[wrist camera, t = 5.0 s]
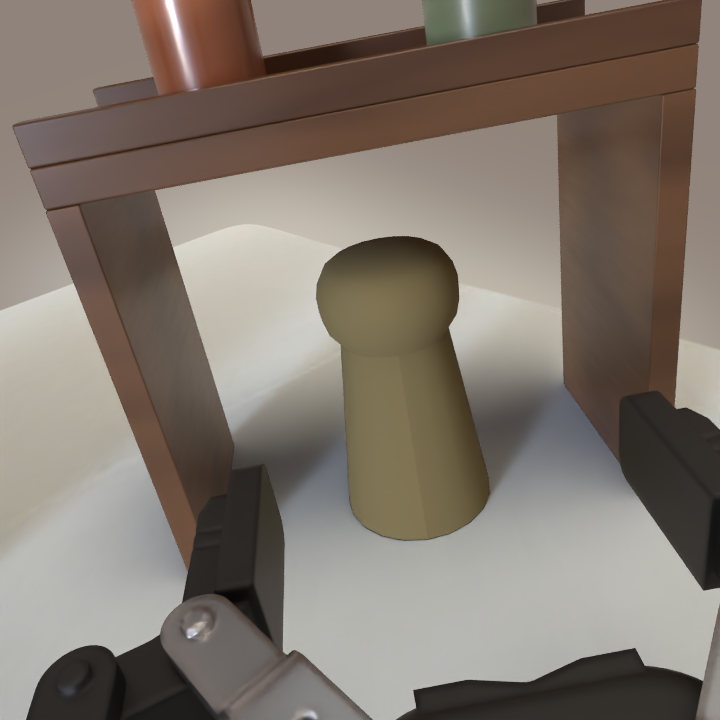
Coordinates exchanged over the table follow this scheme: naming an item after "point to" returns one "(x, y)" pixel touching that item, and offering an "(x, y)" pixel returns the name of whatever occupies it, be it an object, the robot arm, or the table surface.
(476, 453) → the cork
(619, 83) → the spice rack
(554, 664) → the table surface
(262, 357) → the table surface
